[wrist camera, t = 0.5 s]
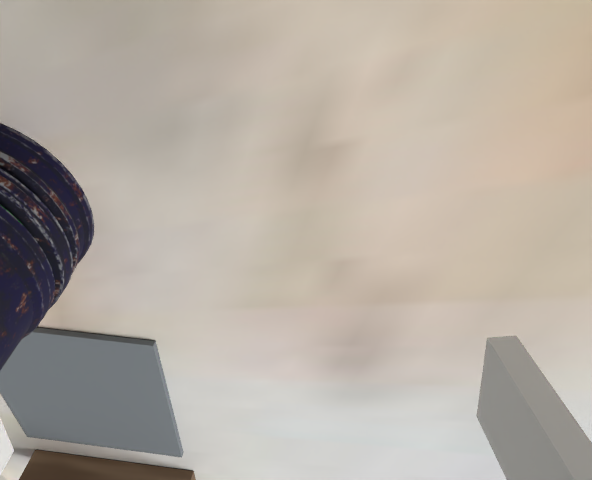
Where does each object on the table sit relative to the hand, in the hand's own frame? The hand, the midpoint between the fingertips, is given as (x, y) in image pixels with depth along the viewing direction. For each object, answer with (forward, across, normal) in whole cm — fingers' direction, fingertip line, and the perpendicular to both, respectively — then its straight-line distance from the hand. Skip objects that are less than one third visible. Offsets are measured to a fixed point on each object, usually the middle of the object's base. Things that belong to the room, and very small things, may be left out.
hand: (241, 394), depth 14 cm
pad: (+19, -14, -16) cm, 28 cm away
